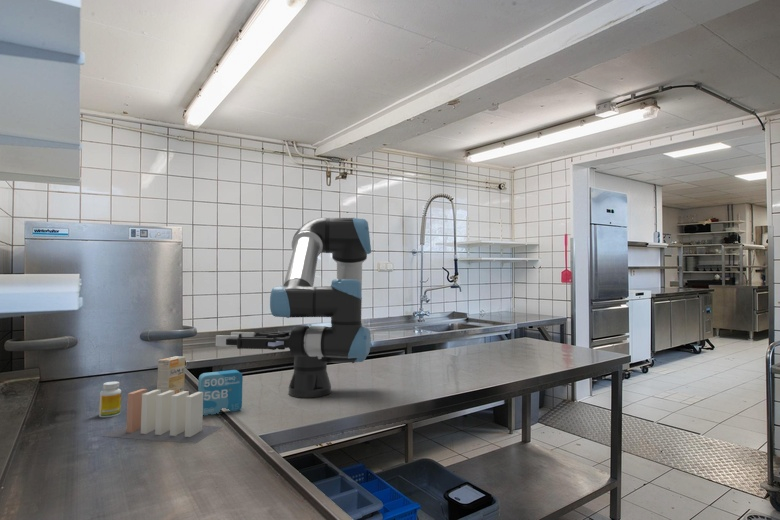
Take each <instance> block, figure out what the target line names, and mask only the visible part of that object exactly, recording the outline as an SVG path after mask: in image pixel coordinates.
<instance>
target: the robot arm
mask: <svg viewBox="0 0 780 520" xmlns="http://www.w3.org/2000/svg"><path fill="white" fill-rule="evenodd" d="M291 249H292V254H291V257H290V261H289V264H288V268H287V271H286V275H285V278H284V283H283V285H280V286H274V287H273V288H272V289H271V290H270V291H271V292H270V298H269V309H270V313H271V315H272V316H273V317H274V318H275V317H277V318H287V319H289V318H330V324H331V325H330V326H326V325H324V326H322V325H321V326H320V325H317V326H316V325H311V326H309V325H308V326H307V325H296V326H294V327H292V329H291V331H283V332H281V331H277V332H276V331H274V332H273V331H263V330H262V331H261V332H260V331H258V332H254V331H252V332H251V331H249V332H248V331H247V332H245V331H243V332H242V331H231V332H230V335H228V334H227V335H226V334H224V335H223V334H222V335H220V334H217V335H215V347H223V348H227V347H228V348H237V349H239V350H243V349H248V350H250V349H251V350H272V351H275V350H280V351H281V350H285V349H289V351H290V354H291V356H293V373H292V377H291V380H290V382H289V385H288V395H289V396H292V397H295V398H304V399H305V398H307V399H308V398H310V399H311V398H320V397H323V396H326V395H329V394H331V393H332V383H331V381H330V377H329V374H328V371H327V370H328V369H327V364H331V363H333V364H337V363H338V364H339V363H342V364H343V363H345V364H346V363H352V364H354V363H363V362H364V361H365V360H366V359H367V356H368V355H369V353H370V351H371V346H372V345H371V344H372V337H371V330H370V329H369V328H368V327H366V326H365V324H363V323H362V307H363V306H362V303H363V300H362V299H363V296H362V295H363V294H362V291H363V289H362V285H363V263H364V262H365V261H366V260H367V259H368V257H367V256H368V255H370V254H372V246H371V237H370V229H369V221H367V220H366V219H364V218H355V217H317V218H313V219H312V220H309V221H308V222H306V223H304V224H303V225H301V226H300V227H299V228H298V229H297V231H296V232H295V233H294V235H293V237H292V240H291ZM320 254H331V255H332V260H334V262H336V278H334V279H333V280H331V284H330V286H326V285H325V286H314V283H315V278H316V270H317V264H318V260H319V255H320Z"/></svg>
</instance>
